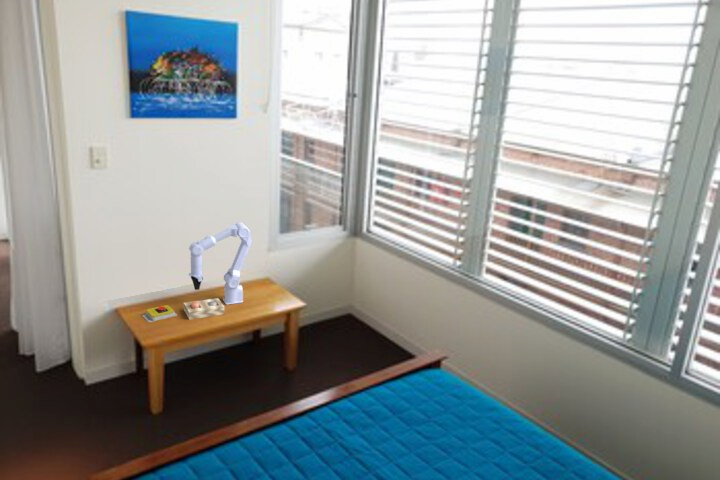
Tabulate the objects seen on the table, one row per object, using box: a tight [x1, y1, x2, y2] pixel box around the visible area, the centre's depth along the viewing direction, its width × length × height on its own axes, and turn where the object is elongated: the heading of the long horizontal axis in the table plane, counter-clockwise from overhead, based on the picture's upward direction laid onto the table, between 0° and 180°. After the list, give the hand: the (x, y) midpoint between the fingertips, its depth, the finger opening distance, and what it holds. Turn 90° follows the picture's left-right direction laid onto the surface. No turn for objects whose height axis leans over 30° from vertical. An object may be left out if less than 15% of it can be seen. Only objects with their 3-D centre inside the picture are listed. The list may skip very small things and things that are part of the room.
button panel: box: [183, 297, 226, 320], centre depth 294 cm, size 18×12×4 cm, turn 119°
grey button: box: [209, 301, 217, 306], centre depth 296 cm, size 4×4×4 cm
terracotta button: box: [191, 300, 199, 309], centre depth 291 cm, size 4×4×4 cm
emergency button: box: [142, 304, 178, 323], centre depth 287 cm, size 9×4×15 cm
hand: (197, 289), depth 298 cm, fingers closed
